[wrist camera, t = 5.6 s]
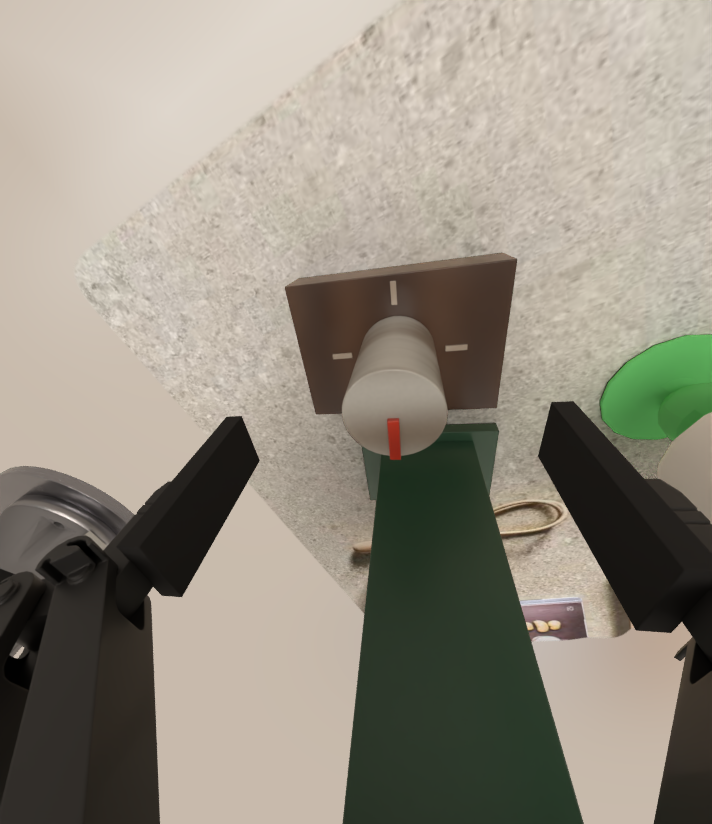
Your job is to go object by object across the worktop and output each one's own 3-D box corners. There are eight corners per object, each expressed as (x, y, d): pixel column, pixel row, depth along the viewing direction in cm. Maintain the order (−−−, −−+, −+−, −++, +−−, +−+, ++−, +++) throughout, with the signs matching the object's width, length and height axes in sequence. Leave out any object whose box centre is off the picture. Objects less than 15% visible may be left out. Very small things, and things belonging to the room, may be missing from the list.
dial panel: (323, 396, 27) (315, 415, 25) (298, 278, 22) (283, 287, 19) (487, 388, 25) (497, 409, 22) (503, 252, 19) (518, 259, 17)
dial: (357, 318, 20) (332, 374, 13) (435, 312, 19) (451, 369, 12) (365, 385, 23) (347, 460, 16) (433, 382, 22) (446, 461, 15)
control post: (371, 491, 34) (305, 1015, 12) (361, 426, 29) (218, 1109, 7) (485, 493, 31) (668, 1146, 9) (495, 422, 26) (915, 1422, 5)
